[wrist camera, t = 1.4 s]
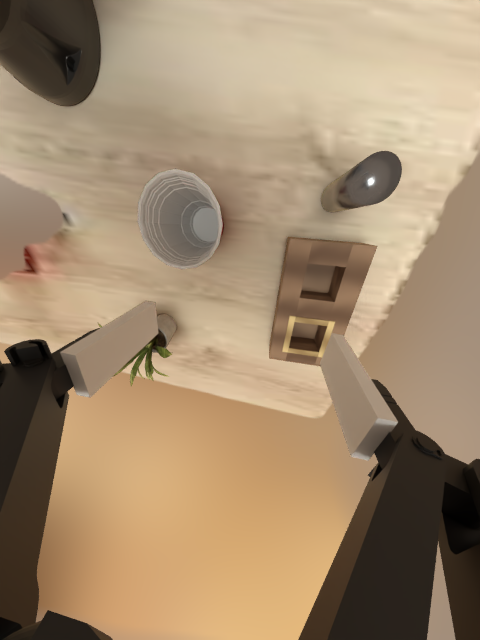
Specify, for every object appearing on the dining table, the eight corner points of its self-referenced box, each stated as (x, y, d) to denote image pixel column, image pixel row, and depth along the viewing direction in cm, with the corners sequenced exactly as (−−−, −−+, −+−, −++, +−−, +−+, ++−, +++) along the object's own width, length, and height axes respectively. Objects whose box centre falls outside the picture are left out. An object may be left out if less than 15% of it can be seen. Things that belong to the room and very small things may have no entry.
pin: (325, 180, 28) (361, 150, 17) (353, 181, 28) (410, 151, 16) (318, 211, 30) (346, 203, 19) (344, 213, 30) (390, 206, 18)
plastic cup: (239, 187, 30) (221, 166, 20) (237, 258, 35) (221, 272, 24) (174, 185, 31) (125, 165, 21) (181, 254, 36) (143, 266, 26)
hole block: (287, 236, 32) (290, 238, 28) (362, 243, 31) (377, 246, 26) (269, 344, 42) (269, 359, 38) (325, 352, 41) (332, 368, 36)
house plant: (198, 297, 40) (156, 338, 25) (202, 351, 46) (169, 408, 32) (136, 291, 42) (62, 326, 27) (147, 343, 48) (92, 395, 33)
